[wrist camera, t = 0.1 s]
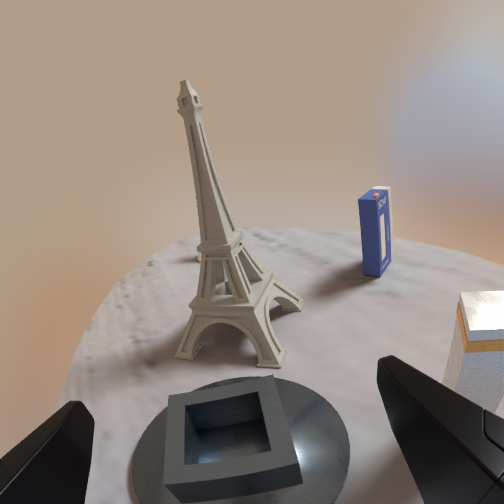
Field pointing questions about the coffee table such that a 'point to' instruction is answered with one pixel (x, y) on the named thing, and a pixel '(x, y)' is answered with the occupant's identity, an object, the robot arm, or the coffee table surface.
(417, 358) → the coffee table surface
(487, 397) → the square box
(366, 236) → the walkman
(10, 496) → the robot arm
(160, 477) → the square socket base
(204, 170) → the eiffel tower
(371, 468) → the coffee table surface
